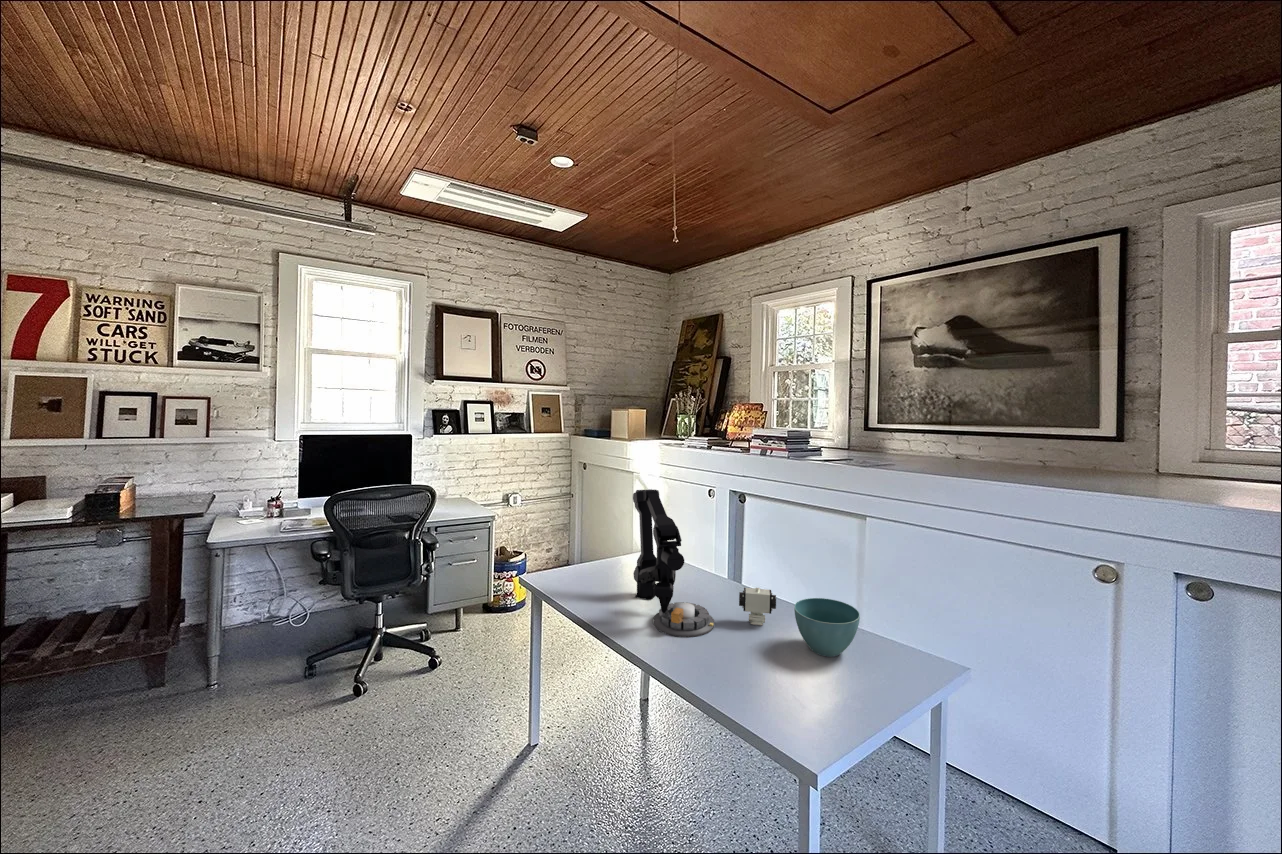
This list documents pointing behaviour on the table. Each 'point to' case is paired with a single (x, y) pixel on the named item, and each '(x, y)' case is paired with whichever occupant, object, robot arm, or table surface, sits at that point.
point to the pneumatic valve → (757, 604)
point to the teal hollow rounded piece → (826, 624)
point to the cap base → (680, 632)
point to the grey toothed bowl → (677, 622)
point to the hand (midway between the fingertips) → (664, 606)
